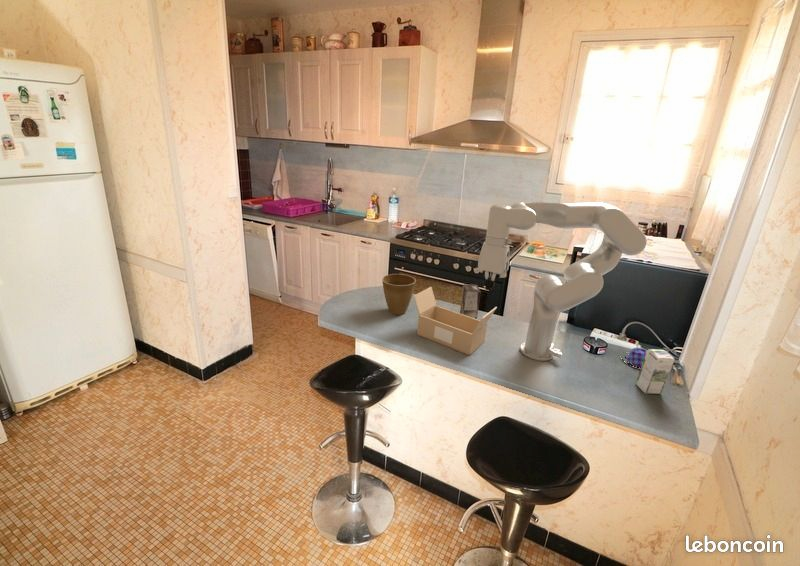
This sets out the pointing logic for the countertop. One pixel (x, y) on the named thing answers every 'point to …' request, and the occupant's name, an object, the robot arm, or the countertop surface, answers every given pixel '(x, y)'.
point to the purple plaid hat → (636, 356)
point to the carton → (451, 329)
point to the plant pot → (398, 292)
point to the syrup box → (654, 371)
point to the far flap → (425, 300)
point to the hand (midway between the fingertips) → (489, 289)
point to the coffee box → (470, 300)
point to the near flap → (484, 320)
